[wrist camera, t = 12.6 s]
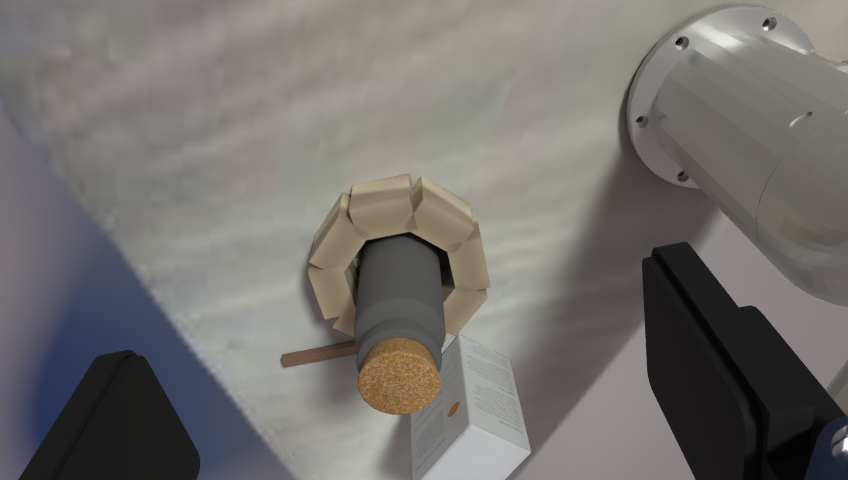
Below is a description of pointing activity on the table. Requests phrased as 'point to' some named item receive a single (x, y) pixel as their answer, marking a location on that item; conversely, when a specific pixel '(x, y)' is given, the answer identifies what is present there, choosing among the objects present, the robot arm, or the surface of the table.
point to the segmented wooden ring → (388, 215)
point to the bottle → (399, 323)
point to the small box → (470, 419)
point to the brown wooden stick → (319, 354)
